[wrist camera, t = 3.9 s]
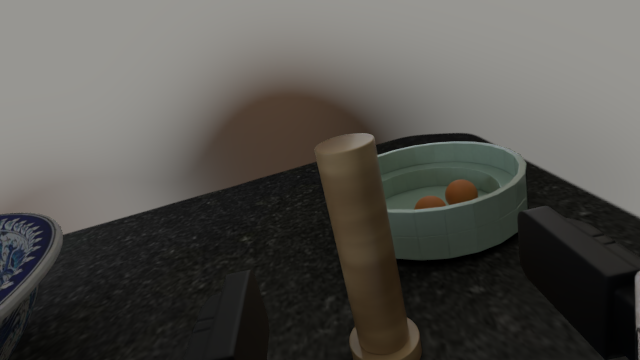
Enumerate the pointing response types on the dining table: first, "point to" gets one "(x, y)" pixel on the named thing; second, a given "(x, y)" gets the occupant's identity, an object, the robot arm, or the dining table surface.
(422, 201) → the bead
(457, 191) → the bead
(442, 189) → the pale green shallow dish
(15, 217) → the ceramic bowl
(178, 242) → the dining table surface
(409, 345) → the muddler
